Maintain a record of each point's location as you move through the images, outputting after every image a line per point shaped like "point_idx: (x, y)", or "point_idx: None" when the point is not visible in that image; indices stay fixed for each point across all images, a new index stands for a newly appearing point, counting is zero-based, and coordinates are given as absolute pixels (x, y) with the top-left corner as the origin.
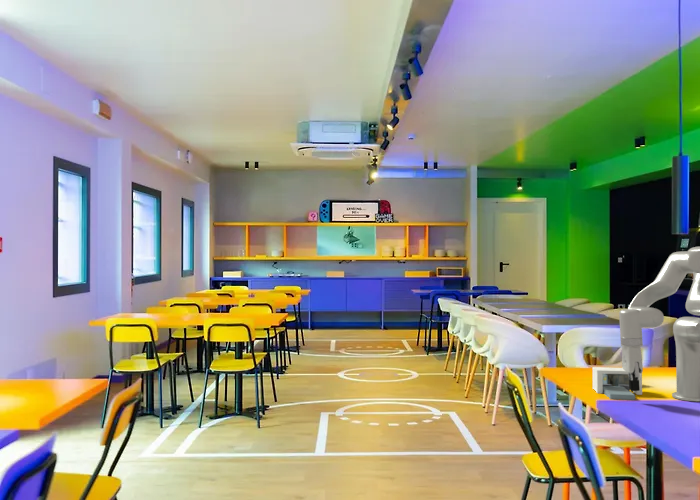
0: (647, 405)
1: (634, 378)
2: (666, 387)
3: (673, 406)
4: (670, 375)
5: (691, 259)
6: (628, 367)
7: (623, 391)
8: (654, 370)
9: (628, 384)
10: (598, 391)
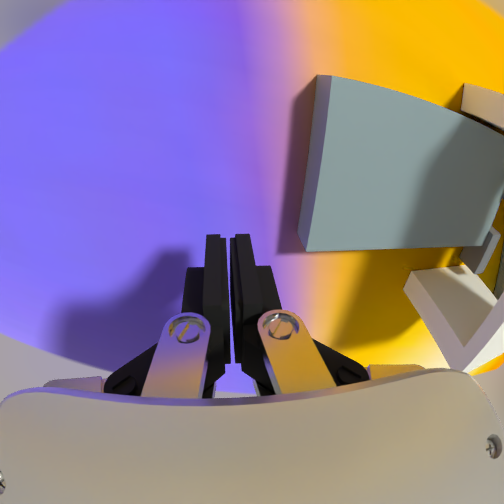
0: (151, 262)
1: (142, 362)
2: None
3: None
4: None
5: None
6: (9, 483)
7: (410, 212)
8: None
9: (502, 274)
10: (470, 89)
